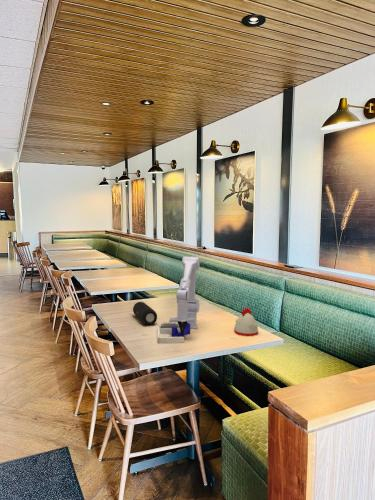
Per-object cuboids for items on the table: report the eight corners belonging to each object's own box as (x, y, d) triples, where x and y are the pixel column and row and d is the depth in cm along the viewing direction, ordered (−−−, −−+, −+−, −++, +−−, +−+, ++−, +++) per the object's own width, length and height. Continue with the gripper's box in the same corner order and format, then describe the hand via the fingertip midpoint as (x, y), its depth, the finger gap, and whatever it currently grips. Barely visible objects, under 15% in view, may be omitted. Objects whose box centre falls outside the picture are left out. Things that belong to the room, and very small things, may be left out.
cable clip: (177, 339, 201) (177, 328, 200) (171, 337, 204) (171, 326, 204) (192, 334, 210) (192, 324, 209) (186, 332, 213) (186, 322, 212)
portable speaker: (131, 315, 244) (131, 301, 243) (145, 314, 248) (146, 300, 247) (143, 327, 221) (143, 311, 220) (158, 325, 225) (158, 309, 224)
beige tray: (157, 330, 215) (157, 325, 215) (180, 330, 216) (180, 325, 216) (158, 343, 194) (158, 337, 194) (183, 342, 196) (184, 337, 195)
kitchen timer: (229, 331, 216) (230, 306, 215) (245, 327, 224) (246, 303, 223) (246, 338, 205) (247, 312, 203) (262, 333, 213) (263, 308, 212)
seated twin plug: (160, 331, 214) (161, 322, 213) (177, 330, 215) (177, 322, 214) (161, 333, 210) (161, 324, 210) (178, 332, 211) (178, 324, 211)
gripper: (169, 312, 196) (169, 337, 197) (196, 312, 197) (195, 336, 198) (169, 309, 203) (168, 332, 204) (194, 309, 204) (194, 332, 205)
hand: (182, 334), depth 202 cm, fingers closed
